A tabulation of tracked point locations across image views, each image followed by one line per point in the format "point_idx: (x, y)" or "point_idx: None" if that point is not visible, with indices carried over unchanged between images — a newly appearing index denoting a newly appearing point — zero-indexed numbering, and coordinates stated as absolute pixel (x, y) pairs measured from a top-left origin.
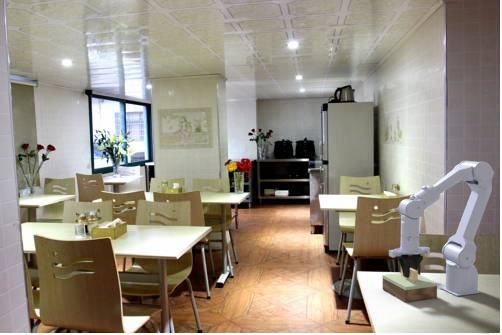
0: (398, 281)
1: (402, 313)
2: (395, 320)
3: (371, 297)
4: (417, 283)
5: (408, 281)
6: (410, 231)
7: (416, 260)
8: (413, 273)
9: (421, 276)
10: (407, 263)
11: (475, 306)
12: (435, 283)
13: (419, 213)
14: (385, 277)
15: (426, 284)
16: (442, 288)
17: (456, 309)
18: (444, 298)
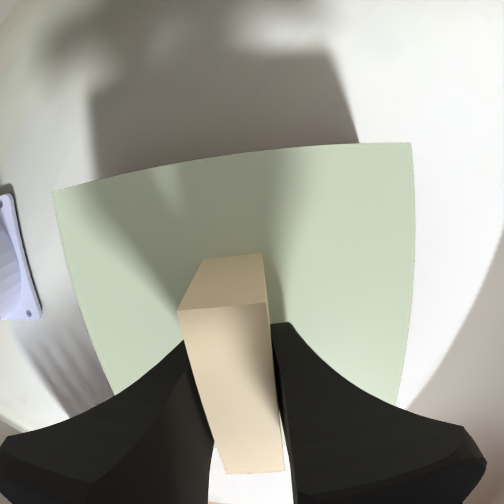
0: (384, 295)
1: (437, 38)
2: (479, 10)
3: (475, 269)
4: (236, 206)
5: (295, 279)
6: None
7: (134, 467)
8: (257, 290)
9: (109, 362)
10: (382, 413)
11: (16, 67)
12: (67, 189)
13: None
14: (394, 396)
15: (157, 167)
16: (34, 296)
17: (113, 20)
18: (74, 174)
